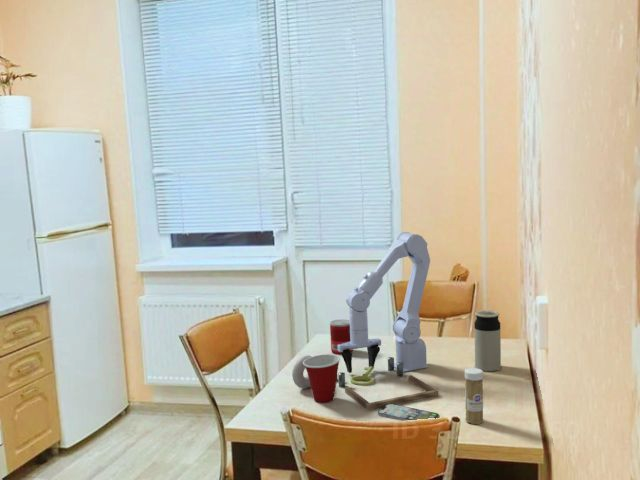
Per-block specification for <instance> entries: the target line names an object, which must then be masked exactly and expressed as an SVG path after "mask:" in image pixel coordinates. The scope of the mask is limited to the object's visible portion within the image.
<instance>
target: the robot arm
mask: <svg viewBox="0 0 640 480" xmlns="http://www.w3.org/2000/svg"><path fill="white" fill-rule="evenodd" d="M407 257H408V258H409V259H410V262H412V265H411V269H410V274H409V279H408V282H407V288H406V292H405V295H404V301H403V305H402V309H401V310H400V311H399V312H398V314H397V317H396V318H395V320H394V322H393V324H392V331H393V333H394V335H396V336H395V359H396V361H395V362H394V369H397V363H398V362H402V363H403V373H404V372H410V371H415V370H420V369H421V370H422V369H426V368H427V369H428V368H429V366H428V364H427V344H426V342H425V341H424V339H422V338H420V337H421V328H420V327H421V319H420V315H419V313H420V307H421V304H422V303H421V302H422V299H423V295H424V291H425V286H426V282H427V278H428V273H429V269H430V266H431V265H430V264H431V258H430V254H429V249H428V242H427V241H426V240H425V239H424V237H423V236H422V235H420V234H415V233H410V232H409V231H408V232H407V231H404V232H401V233H400V234H399V235H397V238H395V239H393V242H392V243H391V246H390V248H389V249H388V250H387V252H386V253H385V255H384V256H383V257H382V259H381V261H379V263H378V265H377V267H376V268H375V269H374V270H373V271H368V272H367V274H363V276H362V278H363V279H362V280H361V281H360V282H359V284H358V286H355V287H354V289H353V291H351V292H350V293H349V294H348V295H347V299H346V301H345V302H346V304H347V306H348V307H349V317H348V318H349V320H350V342H346V343H343V344H339V345H337V346H338V351H339V352H340V353H341V357H342V359H343V362H344V364H345V366H346V367H345V368H346V371H347V373H349V374H351V373H353V365H352V363H353V362H352V361H353V352H352V353H350V351H349V350H352V349H353V350H357V349H364V348H366V349H367V355H368V356H367V357H368V367H370V366H372V367H373V370H374V369H375V363H376V360H377V357H378V354H379V353H380V351H381V347H382V339H381V338H369V325H368V323H369V321H368V320H369V319H368V308H369V307H370V304H371V299H372V298H373V297H374V295H375V294H376V293H377V292H378V291H379V289H380V288H381V286H382V285H383V283H384V282H383V281H384V279H383V278H384V276H385V275H386V274H387V273H388V272H389V270H391V268H392V267H393V266H394V265H395V263H397V261H398V260H399V259H402V258H407ZM380 346H381V347H380Z"/></svg>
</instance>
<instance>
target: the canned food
mask: <svg viewBox="0 0 640 480" xmlns="http://www.w3.org/2000/svg"><path fill="white" fill-rule="evenodd" d="M329 330H330V333H329V334H330V350H331V353H332V354H333V355H337V356H340V355H341V353H340V352H339V351H338V346H337V345H339V344H343V343H346V342H350V319H335V320H331V321H330V323H329ZM349 351H350V353H352V354H353V351H354V349H352V350H349ZM341 356H342V355H341Z"/></svg>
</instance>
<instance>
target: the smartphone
mask: <svg viewBox="0 0 640 480" xmlns="http://www.w3.org/2000/svg"><path fill="white" fill-rule="evenodd" d="M439 415H440V414H439V413H438V412H433V411H428V410H425V409H424V410H422V409H419V408H415V407H414V408H413V407H408V406H403V405H401V404H397V405H395V404H386V405H385V406H384V407H382V408H379V410H378V411H377V416H379V417H382V418H383V417H384V418H388V419H393V420H399V421H403V420H417V419H428V418H437V419H438V418H439Z"/></svg>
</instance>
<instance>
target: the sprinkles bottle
mask: <svg viewBox="0 0 640 480" xmlns="http://www.w3.org/2000/svg"><path fill="white" fill-rule="evenodd" d="M464 379H465V384H464V385H465V391H464V393H465V394H464V395H465V396H464V398H465V399H464V402H465V408H464V409H465V421H466V423H468V424H473V425H479V424H482V423H483V422H484V389H483V388H484V387H483V379H484V371H482V370H481V369H477V368H476V367H469V368H466V369H465V370H464Z"/></svg>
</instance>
